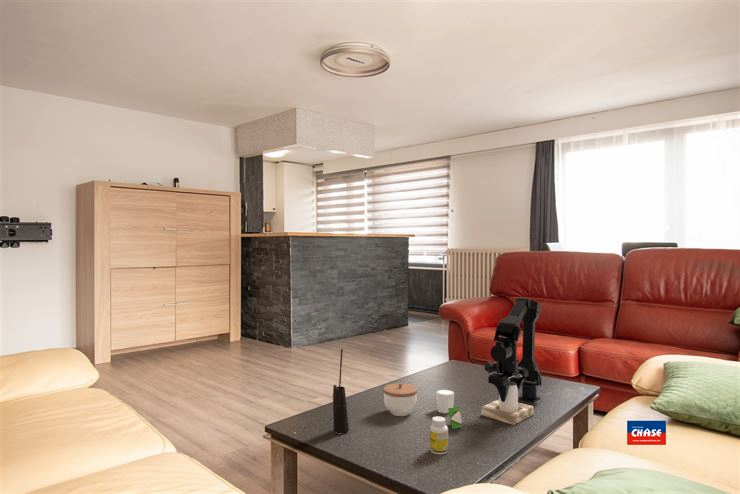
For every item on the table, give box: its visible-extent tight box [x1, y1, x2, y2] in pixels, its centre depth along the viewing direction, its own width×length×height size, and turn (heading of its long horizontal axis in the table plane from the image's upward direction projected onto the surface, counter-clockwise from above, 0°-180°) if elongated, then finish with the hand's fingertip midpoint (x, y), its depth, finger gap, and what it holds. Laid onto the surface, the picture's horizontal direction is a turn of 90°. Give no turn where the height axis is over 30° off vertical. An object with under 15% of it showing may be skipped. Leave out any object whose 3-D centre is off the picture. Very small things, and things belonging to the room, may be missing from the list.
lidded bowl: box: [382, 382, 418, 417], centre depth 171 cm, size 13×13×11 cm
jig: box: [481, 399, 535, 426], centre depth 169 cm, size 14×13×3 cm
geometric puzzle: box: [444, 406, 467, 430], centre depth 158 cm, size 7×7×8 cm
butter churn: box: [332, 348, 350, 434], centre depth 155 cm, size 9×10×28 cm
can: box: [498, 380, 519, 413], centre depth 167 cm, size 6×6×12 cm
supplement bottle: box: [429, 416, 449, 455], centre depth 139 cm, size 5×5×10 cm
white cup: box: [435, 389, 455, 414], centre depth 173 cm, size 7×7×7 cm
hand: (508, 399), depth 167 cm, fingers open, 7 cm apart
